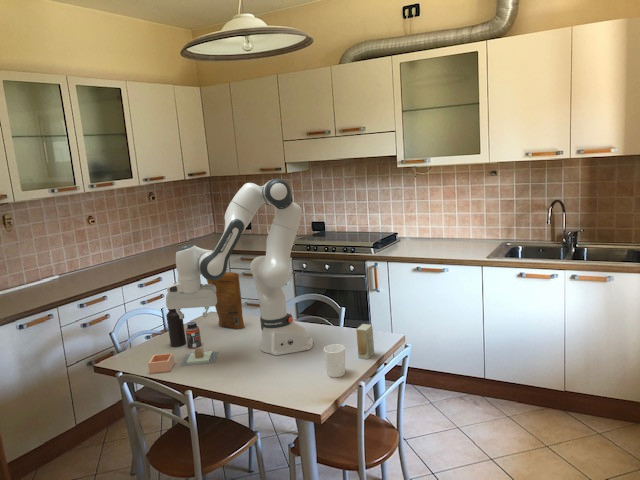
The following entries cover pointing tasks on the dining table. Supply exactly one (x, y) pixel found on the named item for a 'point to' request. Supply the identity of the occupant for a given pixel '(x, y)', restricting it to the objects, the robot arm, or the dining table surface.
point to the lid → (199, 357)
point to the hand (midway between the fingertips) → (193, 317)
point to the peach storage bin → (161, 363)
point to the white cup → (335, 360)
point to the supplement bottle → (193, 335)
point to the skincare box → (365, 341)
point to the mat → (212, 360)
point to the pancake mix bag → (229, 301)
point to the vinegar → (175, 329)
